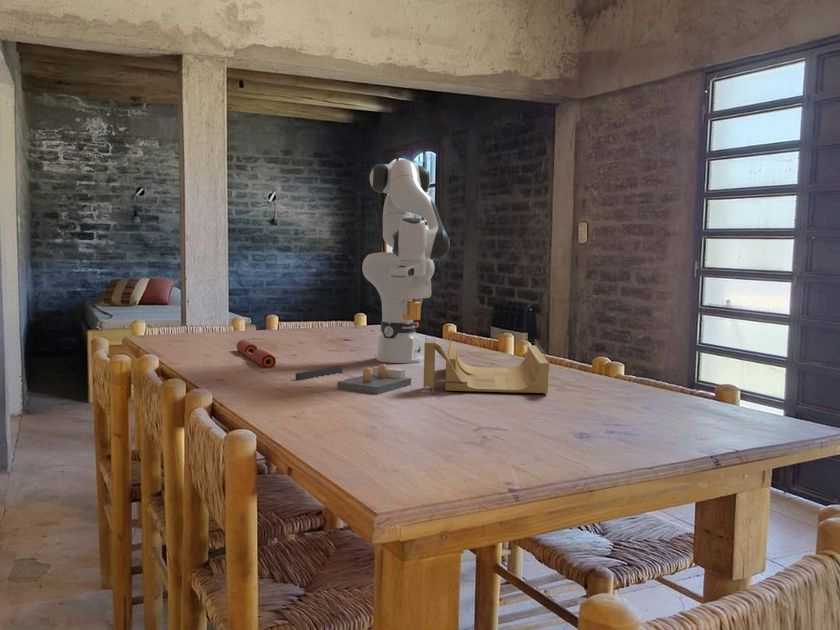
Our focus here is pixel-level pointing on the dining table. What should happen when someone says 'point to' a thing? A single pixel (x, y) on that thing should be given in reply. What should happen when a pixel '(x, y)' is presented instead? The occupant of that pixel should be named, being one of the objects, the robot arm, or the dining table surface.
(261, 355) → the blood vessel
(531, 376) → the skate ramp
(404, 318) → the cylinder
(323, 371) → the dark grey bar
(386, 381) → the board
